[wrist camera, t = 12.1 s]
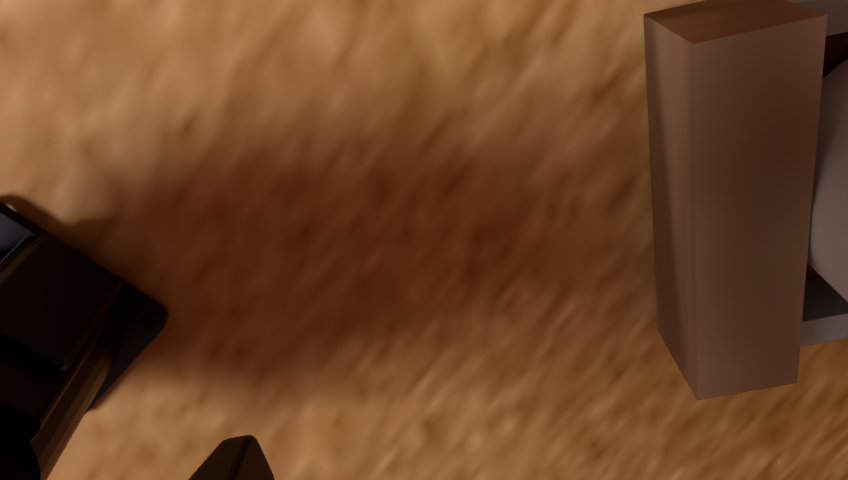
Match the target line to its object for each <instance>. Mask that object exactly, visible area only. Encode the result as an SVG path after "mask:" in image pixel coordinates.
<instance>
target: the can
mask: <svg viewBox="0 0 848 480" xmlns="http://www.w3.org/2000/svg"><path fill="white" fill-rule="evenodd" d="M807 263H808V264H809V265H810V266H811V267H812V268H813V269H814V270H815V271H816V272H817V273H818V274H819V275H820V276H821V277H822V278H823V279H824V280H825V281H827V282H828V283H829V284H830V285H831V286H832V287H833V288H834V289H835V290H836V291H837V292H838V293H839V294H840V295H841V296H842V297H843V298H844V299H845V300H846V301H847V302H848V59H847V60H845V61H844V62H842V63H840V64H838V65H837V66H836V67H835V68H834V69H833V70H832V71H831V72H830V73H829V74H828V75H826V76H825V77H824V78H823V79H822V87H821V99H820V111H819V123H818V135H817V147H816V159H815V171H814V183H813V195H812V207H811V219H810V231H809V243H808V255H807Z"/></svg>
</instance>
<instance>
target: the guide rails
mask: <svg viewBox="0 0 848 480" xmlns="http://www.w3.org/2000/svg"><path fill="white" fill-rule="evenodd" d="M785 1H788V2H791V3H794V4H797V5H800V6H803V7H806V8H809V9H812V10H815V11H818V12H821V13H823V14H826V15H827V27H826V36H830V35H834V34H839V33H844V32H848V0H785ZM845 338H848V302H847V301H846V300H845V299H844V298H843V297H842V296H841V295H840V294H839V293H838V292H837V291H836V290H835V289H834V288H833V287H832V286H831V285H830V284H829V283H828V282H827V281H825V280H824V279H823V278H817V279H812V280H807V281H805V291H804V303H803V315H802V328H801V340H800V346H806V345H811V344H817V343H822V342H828V341H834V340H839V339H845Z"/></svg>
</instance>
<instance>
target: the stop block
mask: <svg viewBox="0 0 848 480" xmlns="http://www.w3.org/2000/svg"><path fill="white" fill-rule="evenodd" d="M826 27H827V15H826V14H823V13H821V12H818V11H815V10H812V9H809V8H806V7H803V6H800V5H797V4H794V3H791V2H788V1H785V0H708V1H703V2H699V3H694V4H690V5H685V6H680V7H676V8H671V9H667V10H662V11H658V12H653V13H649V14H644V35H645V56H646V77H647V99H648V120H649V141H650V162H651V183H652V204H653V225H654V246H655V267H656V288H657V309H658V330H659V333H660V335H661V337H662V338H663V340H664V342H665V344H666V345H667V347H668V349H669V351H670V353H671V354H672V356H673V358H674V360H675V362H676V363H677V365H678V367H679V369H680V370H681V372H682V374H683V376H684V378H685V379H686V381H687V383H688V385H689V387H690V388H691V390H692V392H693V394H694V395H695V397H696V399H697V400H702V399H708V398H713V397H719V396H725V395H730V394H736V393H742V392H747V391H753V390H759V389H764V388H770V387H776V386H781V385H787V384H793V383H797V376H798V364H799V352H800V340H801V328H802V315H803V303H804V291H805V279H806V267H807V255H808V243H809V231H810V219H811V207H812V195H813V183H814V171H815V159H816V147H817V135H818V123H819V111H820V99H821V87H822V75H823V63H824V51H825V39H826Z"/></svg>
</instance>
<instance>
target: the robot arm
mask: <svg viewBox="0 0 848 480" xmlns="http://www.w3.org/2000/svg"><path fill="white" fill-rule="evenodd" d="M146 315H152V316H154V317H155V318H156V319H157V320H151V319H149V318H148V317H147V316H146ZM167 319H168V312H167V310H166V308H165V307H163V306H162V305H161V304H160V303H158V302H156V301H155V300H153V299H152V298H150V297H149V296H147V295H145V294H144V293H142V292H141V291H139V290H138V289H136V288H134V287H133V286H131V285H130V284H128V283H127V282H125V281H123V280H122V279H120V278H119V277H117V276H116V275H114V274H112V273H111V272H109V271H108V270H106V269H105V268H103V267H101V266H100V265H98V264H97V263H95V262H94V261H92V260H90V259H89V258H87V257H86V256H84V255H83V254H81V253H79V252H78V251H76V250H75V249H73V248H71V247H70V246H68V245H67V244H65V243H64V242H62V241H60V240H59V239H57V238H56V237H54V236H53V235H51V234H49V233H48V232H46V231H45V230H43V229H42V228H40V227H38V226H37V225H35V224H34V223H32V222H31V221H29V220H27V219H26V218H24V217H23V216H21V215H20V214H18V213H16V212H15V211H13V210H12V209H10V208H9V207H7V206H5V205H4V204H2V203H0V480H47V478H48V476H49V475H50V473H51V471H52V469H53V468H54V466H55V464H56V463H57V461H58V459H59V457H60V456H61V454H62V452H63V450H64V449H65V447H66V445H67V443H68V442H69V440H70V438H71V437H72V435H73V433H74V431H75V430H76V428H77V426H78V424H79V423H80V421H81V419H82V418H83V416H84V415H85V413H86V412H87V411H88V410H89V409H90V408H91V407H92V406H93V405H94V404H95V402H96V401H97V400H98V399H99V398H100V397H101V396H102V395H103V394H104V393H105V392H106V390H107V389H108V388H109V387H110V386H111V385H112V384H113V383H114V382H115V381H116V379H117V378H118V377H119V376H120V375H121V374H122V373H123V372H124V371H125V370H126V369H127V367H128V366H129V365H130V364H131V363H132V362H133V361H134V360H135V359H136V358H137V356H138V355H139V354H140V353H141V352H142V351H143V350H144V349H145V348H146V347H147V346H148V344H149V343H150V342H151V341H152V340H153V339H154V338H155V337H156V336H157V335H158V333H159V332H160V331H161V330H162V329H163V327H164V325H165V323H166V321H167ZM189 480H274V476H273V473H272V471H271V469H270V467H269V464H268V462H267V460H266V458H265V456H264V454H263V451H262V449H261V447H260V445H259V443H258V441H257V439H256V438H255V437H254V436H251V435H245V436H240V437H234V438H229V439H226V440H224V441H222V442H221V443H220V444H219V445H218V446H217V448H216V449H215V450H214V451H213V452H212V453H211V454H210V456H209V457H208V458H207V459H206V460H205V461H204V462H203V464H202V465H201V466H200V467H199V468H198V469H197V471H196V472H195V473H194V474H193V475H192V476H191V477H190V479H189Z"/></svg>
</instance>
